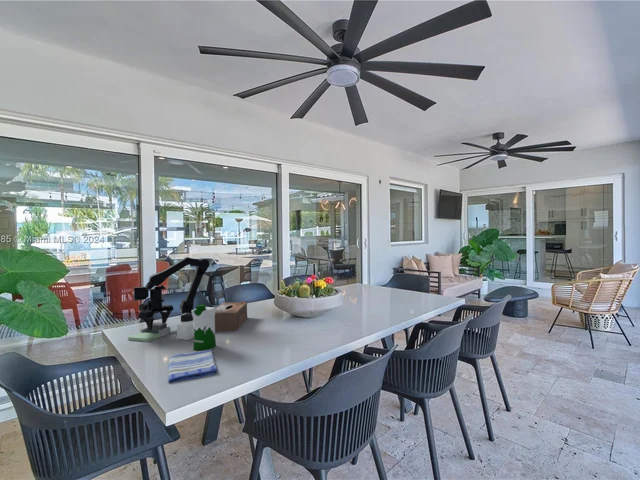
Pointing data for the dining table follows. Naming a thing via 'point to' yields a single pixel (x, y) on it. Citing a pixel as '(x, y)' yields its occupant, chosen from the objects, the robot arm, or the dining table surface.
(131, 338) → the deck
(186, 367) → the dish towel
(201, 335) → the milk carton
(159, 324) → the gray cuboid pillar
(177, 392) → the dining table surface
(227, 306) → the tissue box cover
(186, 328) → the medicine bottle
